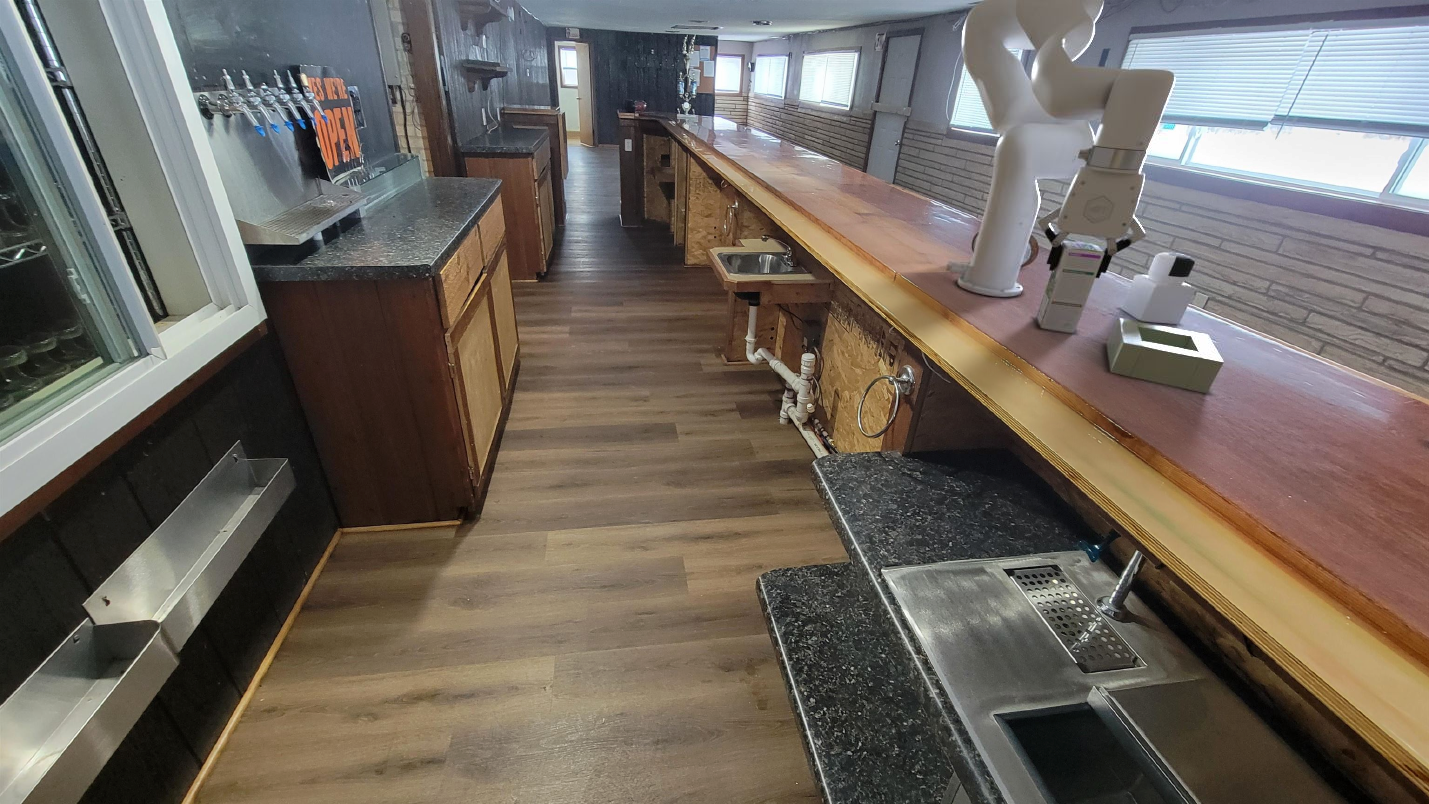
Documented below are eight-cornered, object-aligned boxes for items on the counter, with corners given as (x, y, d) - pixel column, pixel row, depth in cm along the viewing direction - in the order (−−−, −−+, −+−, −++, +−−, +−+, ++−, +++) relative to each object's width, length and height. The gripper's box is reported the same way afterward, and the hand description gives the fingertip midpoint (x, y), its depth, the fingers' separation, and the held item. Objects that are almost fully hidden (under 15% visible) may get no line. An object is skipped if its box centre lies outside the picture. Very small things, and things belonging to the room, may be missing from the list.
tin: (1032, 270, 134) (1044, 235, 129) (1027, 273, 132) (1039, 236, 127) (971, 256, 143) (980, 222, 139) (965, 258, 141) (975, 224, 137)
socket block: (1110, 372, 86) (1123, 342, 83) (1106, 345, 95) (1118, 318, 92) (1206, 393, 81) (1224, 362, 78) (1193, 363, 90) (1207, 334, 88)
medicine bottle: (1157, 311, 111) (1185, 251, 106) (1179, 325, 105) (1210, 261, 99) (1119, 308, 112) (1145, 248, 106) (1139, 322, 106) (1167, 258, 100)
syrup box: (1075, 334, 99) (1108, 252, 92) (1038, 328, 101) (1068, 247, 93) (1068, 323, 104) (1099, 244, 96) (1033, 317, 105) (1061, 239, 98)
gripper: (1052, 157, 89) (1017, 268, 98) (1185, 169, 82) (1134, 288, 91) (1054, 153, 95) (1020, 259, 104) (1177, 164, 88) (1130, 276, 97)
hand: (1073, 271), depth 97 cm, fingers closed on syrup box, 6 cm apart
